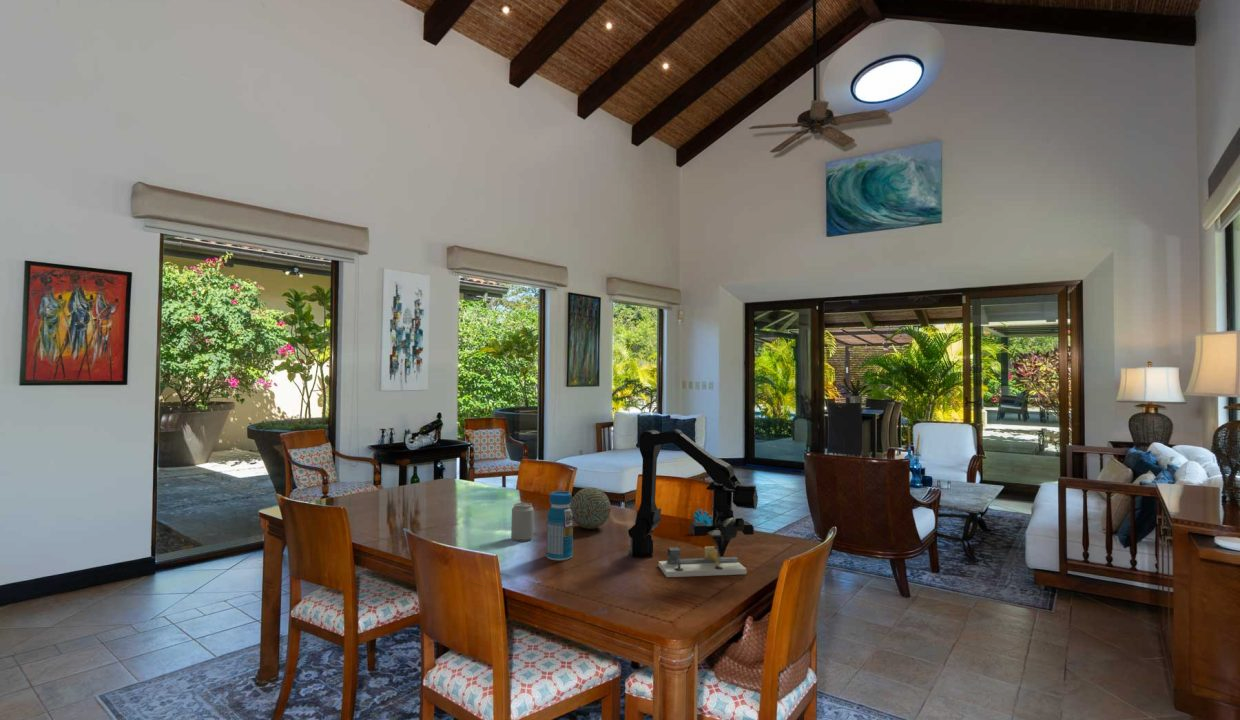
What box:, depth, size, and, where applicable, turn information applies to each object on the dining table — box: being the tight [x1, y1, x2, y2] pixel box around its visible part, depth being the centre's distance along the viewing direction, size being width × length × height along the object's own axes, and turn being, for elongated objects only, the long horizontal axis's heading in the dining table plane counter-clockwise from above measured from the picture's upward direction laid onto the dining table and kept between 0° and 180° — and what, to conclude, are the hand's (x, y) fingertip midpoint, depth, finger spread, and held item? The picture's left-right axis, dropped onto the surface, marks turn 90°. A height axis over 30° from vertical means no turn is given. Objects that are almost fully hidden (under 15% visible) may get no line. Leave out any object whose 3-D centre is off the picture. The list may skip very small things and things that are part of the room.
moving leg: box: [704, 545, 719, 567], centre depth 189 cm, size 3×8×4 cm, turn 10°
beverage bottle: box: [545, 490, 575, 562], centre depth 198 cm, size 8×8×20 cm
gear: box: [692, 509, 713, 525], centre depth 234 cm, size 11×6×10 cm
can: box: [510, 502, 535, 542], centre depth 218 cm, size 8×8×12 cm
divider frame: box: [666, 546, 739, 568], centre depth 189 cm, size 22×8×4 cm, turn 100°
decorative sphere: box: [569, 486, 611, 530], centre depth 234 cm, size 15×15×15 cm
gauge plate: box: [658, 560, 747, 578], centre depth 189 cm, size 24×10×2 cm, turn 100°
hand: (721, 556), depth 192 cm, fingers closed
